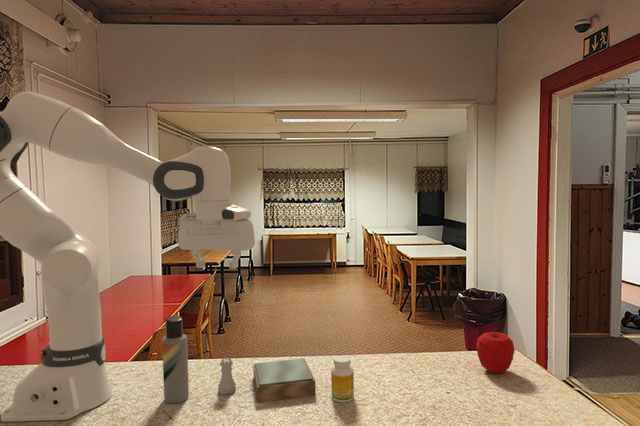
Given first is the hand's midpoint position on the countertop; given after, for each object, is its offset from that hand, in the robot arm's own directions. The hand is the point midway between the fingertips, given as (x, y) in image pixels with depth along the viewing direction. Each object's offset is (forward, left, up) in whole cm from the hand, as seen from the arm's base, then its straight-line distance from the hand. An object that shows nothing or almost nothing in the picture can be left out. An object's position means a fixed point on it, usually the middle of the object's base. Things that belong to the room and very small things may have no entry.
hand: (216, 267), depth 107 cm
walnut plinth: (+16, -2, -31) cm, 35 cm away
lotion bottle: (-10, -2, -31) cm, 33 cm away
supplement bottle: (+29, -12, -31) cm, 44 cm away
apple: (+73, -8, -31) cm, 79 cm away
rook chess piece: (+2, -1, -31) cm, 31 cm away
